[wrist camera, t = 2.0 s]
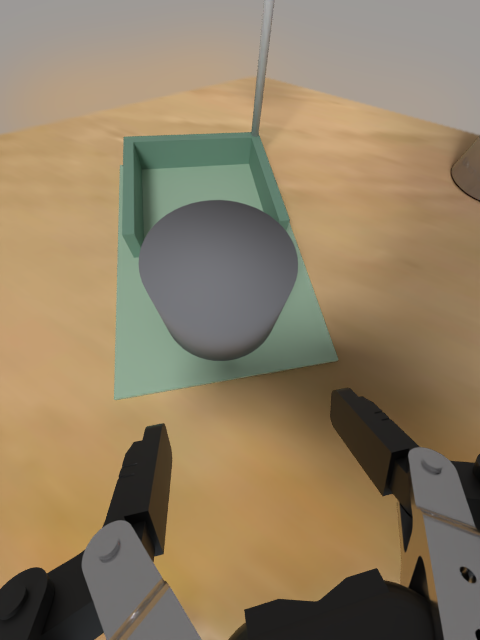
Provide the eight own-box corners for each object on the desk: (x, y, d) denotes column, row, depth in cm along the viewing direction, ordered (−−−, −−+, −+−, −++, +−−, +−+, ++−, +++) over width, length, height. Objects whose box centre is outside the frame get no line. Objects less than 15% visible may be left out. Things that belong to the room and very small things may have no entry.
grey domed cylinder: (262, 256, 24) (276, 195, 18) (288, 350, 20) (318, 314, 14) (161, 267, 23) (137, 205, 16) (167, 370, 19) (139, 341, 12)
